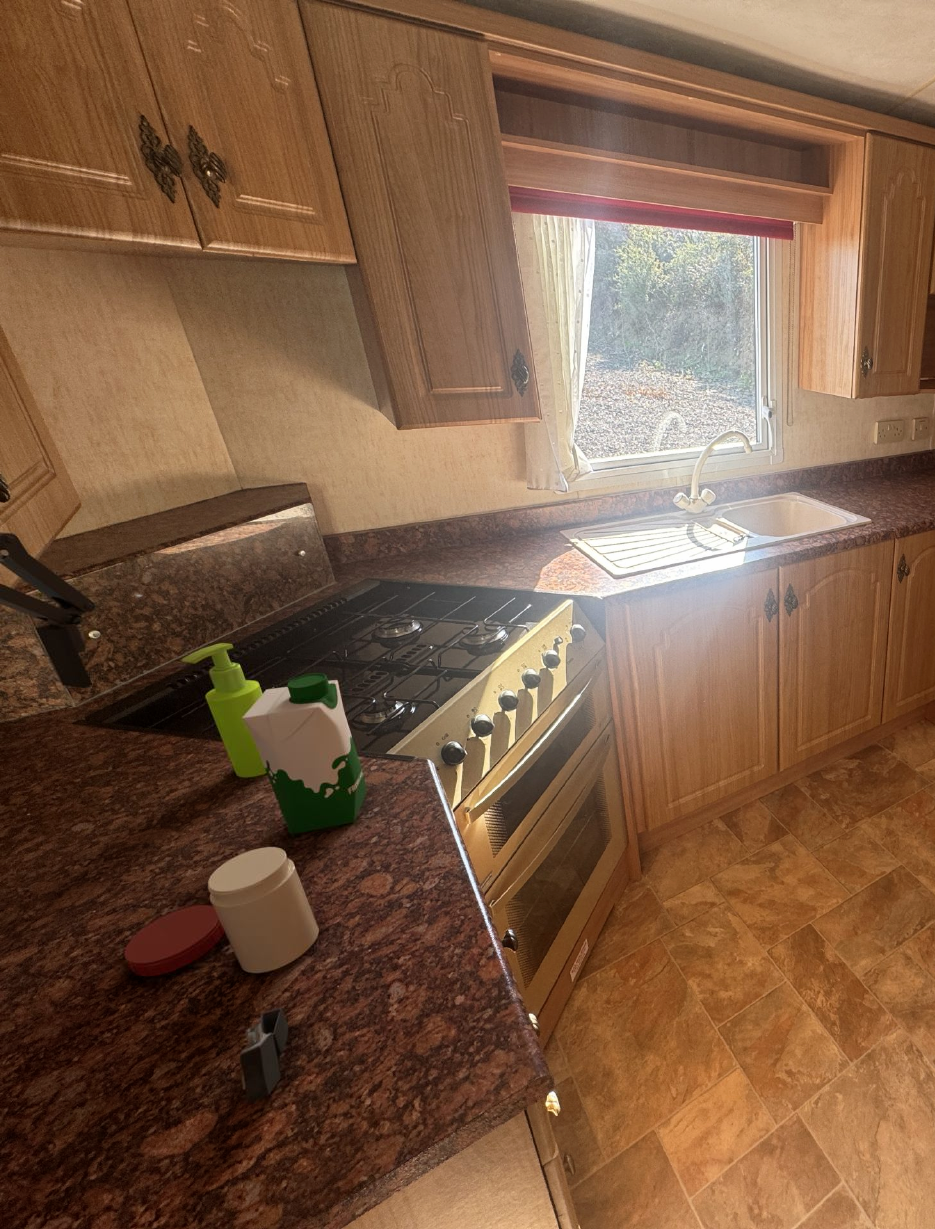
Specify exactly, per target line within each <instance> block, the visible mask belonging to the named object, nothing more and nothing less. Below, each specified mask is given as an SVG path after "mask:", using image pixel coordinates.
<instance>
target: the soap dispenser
mask: <svg viewBox="0 0 935 1229" xmlns="http://www.w3.org/2000/svg"><path fill="white" fill-rule="evenodd" d="M231 649H234V646H233V644H232V643H226V642H219V643H216V644H213V645H209V646H206V647H203V648H201V649H198V650H196V651H193V652H192V653H189V654H188V655H186V656H185V657H183V658H182V659H181V660H180V662H182V663H186V664H187V663H188V664H197V663H198V662H200V661H202V660H204V659H205V658H208V657H210V658H211V660H212V662H213V665H214V666H212V668H210V669H209V670H208V674H209V677H210V680H211V682H212V684H213V687H214V688H213V689H211V690H210V691H208V692H207V693H206V694H205V700H206V701H207V702H206V703H207V705H208V707H209V710H210V712H211V715H212V718H213V720H214V722H215V724H216V727H217V730H218V732H219V735H220V738H221V740H222V743H223V744H224V747H225V750H226V753H227V755H228V758H229V761H230V762H231V765H232V767H233V770H234V772H235V775H236V776H237V777H239V778H254V777H258V776H262V775H265V774H266V775H267V773H266V770H265V767H264V765H263V762H262V759H261V757H260V754H259V752H258V749H257V746H256V744H255V741H254V739H253V737H252V735H251V733H250V731H249V730H248V728H247V726H246V724H245V723H244V721H243V719H242V718H243V716H244V715H245V714H246V713H247V712H248V710H249V709H250V708H251V707H252V706H253V705H254V703H255V702H256V701H257V700H258V699H259V698H260V697H261V695H262V694H263V693H264V692H263V691H262V688H261V686H260V685H261V684H260V683H259V681H257V680H251V679H250V680H246V677H245V675H244V672H243V669H242V666H241V664H240V663H238V662H234V661H233V662H232V661H231V659H230V656H229V654H228V651H229V650H231Z"/></svg>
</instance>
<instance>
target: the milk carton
mask: <svg viewBox="0 0 935 1229" xmlns="http://www.w3.org/2000/svg"><path fill="white" fill-rule="evenodd" d="M262 693H263V694H262V695H261V697H260V698H259V699H258V700H257V701H256V702H255V703H254V705H253V706H252V707H251V708H250V709H249V710H248V712H247V713H246V714H245V715H244V716H243V718H242V719H243V721H244V723H245V724H246V726H247V728H248V730H249V731H250V733H251V735H252V737H253V739H254V741H255V744H256V746H257V749H258V752H259V754H260V757H261V759H262V762H263V765H264V767H265V770H266V775H267V777H268V780H269V783H270V786H271V789H272V791H273V793H274V796H275V799H276V802H277V804H278V807H279V809H280V811H281V814H282V816H283V819H284V821H285V824H286V826H287V829H288V832H289V834H290V835H296V834H301V833H306V832H310V831H317V830H321V829H327V828H332V827H336V826H342V825H346V824H353V823H355V821H356V819H357V817H358V814H359V812H360V810H361V807H362V805H363V803H364V801H365V798H366V796H367V793H368V791H369V790H368V787H367V784H366V780H365V775H364V773H363V769H362V765H361V763H360V759H359V755H358V753H357V748H356V746H355V743H354V740H353V736H352V733H351V730H350V726H349V723H348V719H347V717H346V713H345V709H344V704H343V700H342V694H341V690H340V686H339V681H338V680H337V679H334V680H333V679H332V680H328V677H327V675H326V674H324V673H321V672H320V673H319V672H316V673H314V672H313V673H307V674H303V675H300V676H297V677H295V678H292V679H291V680H289V681H288V683H287V684H286V686H283V687H276V688H275V687H274V688H268V689H267V688H266V689H265V691H264V692H262Z"/></svg>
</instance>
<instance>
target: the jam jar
mask: <svg viewBox="0 0 935 1229" xmlns="http://www.w3.org/2000/svg"><path fill="white" fill-rule="evenodd" d="M301 881H302V880H301V879H300V876H299V873H298V871H297V867H296V866H295V863H294V861H293V860H292V859H290V858H289V857H288V856H287V853H286V851H285V850H284V849H283V848H280V847H276V846H266V847H260V848H255V849H251V850H249V851H246V852H243V853H240V854H239V855H236V856H235V857H233V858H231V859H229V860H227V861H225V862H224V863H223V864H221V865H220V866H219V867H217V868H216V870H214V871H213V872H212V873H211V875H210V876H209V878H208V882H207V889H208V892H209V893H210V894H209V901H210V904H211V906H213V908H214V910H215V912H216V914H217V916H218V918H219V921H220V923H221V925H222V927H223V929H224V935H225V936H226V938H227V940H228V942H229V945H230V946H231V949H232V951H233V954H234V956H235V957H236V958H235V959H237V960H236V961H237V962H238V964H239V966H240V968H241V969H242V970H243V971H245V972H247V973H251V974H261V973H262V974H263V973H268V972H271V971H274V970H277V969H280V968H283V967H284V966H287V965H289V964H290V963H292V962H294V961H296V959H299V957H301V956H302V955H304V954H305V953H306V952H307V951H308V950H309V949H310V948H311V947H312V946H313V944H314V943H315V942H316V940H317V938H318V936H319V931H320V929H319V926H318V923H317V921H316V918H315V915H314V913H313V910H312V907H311V905H310V902H309V900H308V896H307V894H306V892H305V889H304V887H303V883H302V882H301Z"/></svg>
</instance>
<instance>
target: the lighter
mask: <svg viewBox="0 0 935 1229" xmlns="http://www.w3.org/2000/svg"><path fill="white" fill-rule="evenodd" d="M245 1031H246V1037H247V1045H246V1046H245V1047H244V1048H243V1049H242V1050H241V1052H240V1055H239V1059H240V1065H241V1069H242V1070H241V1071H242V1077H241V1085H242V1090H245V1093H246V1099H247V1104H248V1105H250V1104H252V1103H254V1102H256V1101H259V1100H261V1099H263V1098H266V1097H268V1096H269V1095H270V1094H271V1092H272V1091H273V1090H274V1088H275V1087H276V1086H277V1084H278V1083H279V1081H280V1080H281V1079H282V1076H281V1071H280V1065H279V1060H278V1057H280V1056H281V1055H282V1054H283V1052H284V1050H285V1048H286V1045H287V1040H288V1033H289V1024H288V1021H287V1019H286V1016H285V1013H284V1010H283V1008H282V1007H279V1008H276V1009H271V1010H267V1011H264V1012H262V1013H261V1015H260V1018H259V1021H258V1024H256V1025H253V1026H251V1027H249V1028H248V1029H247V1030H245Z"/></svg>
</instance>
